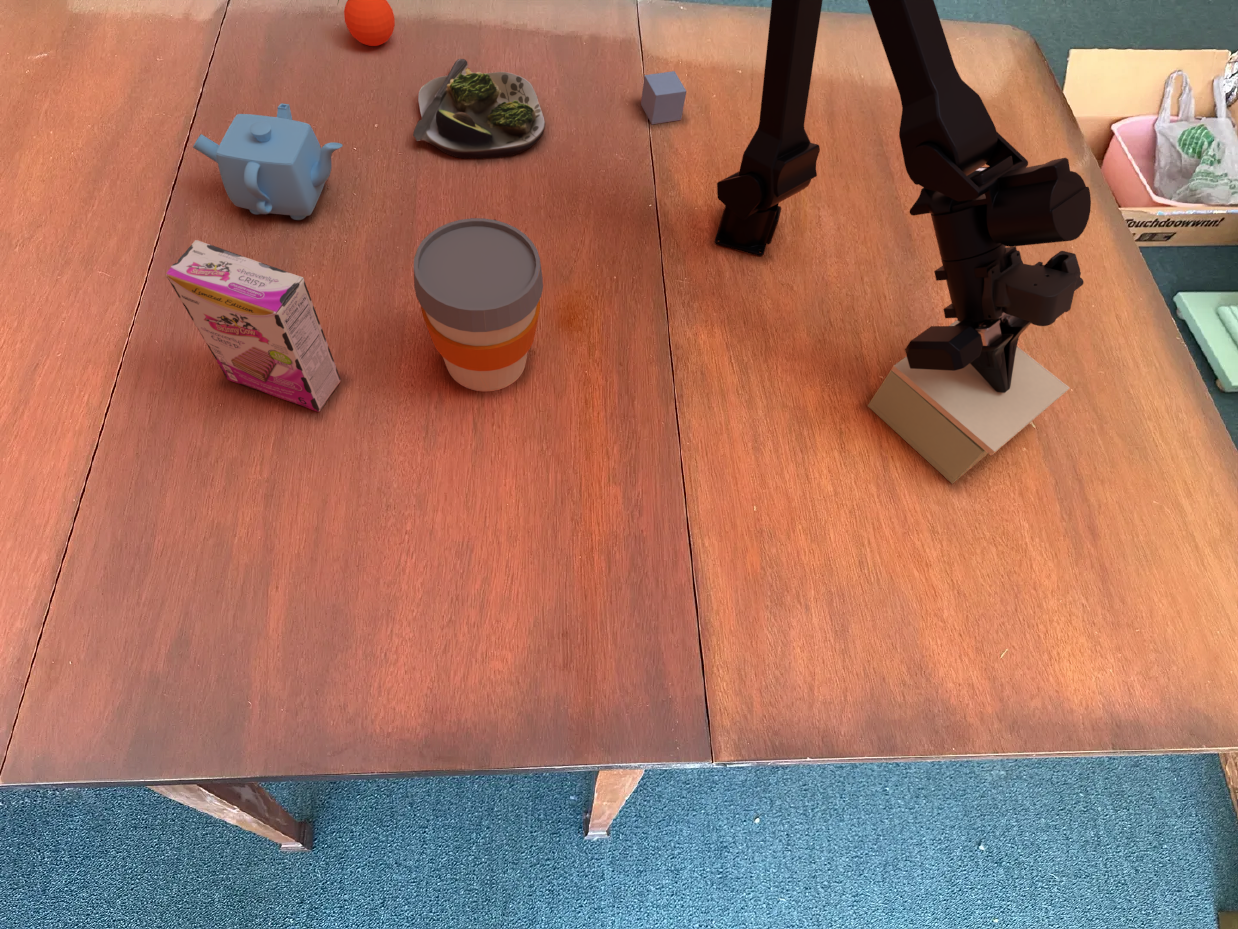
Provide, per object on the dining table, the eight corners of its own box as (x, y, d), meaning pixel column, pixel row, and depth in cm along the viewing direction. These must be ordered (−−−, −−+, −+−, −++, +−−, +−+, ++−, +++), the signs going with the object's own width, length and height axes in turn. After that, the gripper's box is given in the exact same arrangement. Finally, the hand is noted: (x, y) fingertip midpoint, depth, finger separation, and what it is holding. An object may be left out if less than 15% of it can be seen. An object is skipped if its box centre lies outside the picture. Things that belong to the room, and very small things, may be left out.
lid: (1066, 392, 83) (1070, 387, 83) (991, 456, 78) (994, 451, 78) (967, 314, 88) (971, 309, 88) (890, 369, 83) (893, 365, 82)
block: (651, 124, 110) (656, 95, 106) (640, 104, 112) (644, 74, 108) (681, 120, 112) (686, 90, 108) (669, 100, 114) (674, 70, 110)
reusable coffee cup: (493, 298, 92) (486, 198, 79) (565, 364, 88) (570, 269, 75) (405, 353, 87) (383, 255, 74) (478, 425, 83) (467, 334, 70)
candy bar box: (224, 382, 83) (160, 273, 68) (251, 348, 85) (194, 235, 71) (320, 416, 82) (275, 312, 67) (344, 380, 84) (305, 273, 70)
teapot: (194, 223, 93) (159, 152, 85) (234, 146, 100) (206, 74, 92) (344, 243, 94) (325, 175, 85) (374, 166, 101) (359, 96, 92)
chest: (1024, 423, 90) (1058, 388, 84) (952, 484, 85) (983, 452, 79) (940, 351, 94) (967, 314, 88) (867, 405, 89) (890, 370, 83)
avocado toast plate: (404, 73, 111) (399, 42, 107) (528, 67, 114) (528, 36, 110) (417, 164, 102) (412, 134, 98) (551, 155, 105) (552, 125, 101)
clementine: (335, 49, 112) (323, -1, 106) (351, 22, 116) (341, -28, 110) (389, 59, 112) (381, 10, 106) (404, 32, 116) (397, -17, 110)
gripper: (990, 285, 65) (1025, 445, 71) (1109, 200, 72) (1132, 352, 78) (884, 291, 75) (922, 431, 80) (999, 215, 82) (1026, 350, 88)
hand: (1003, 390), depth 81 cm, fingers closed, pressing on lid
